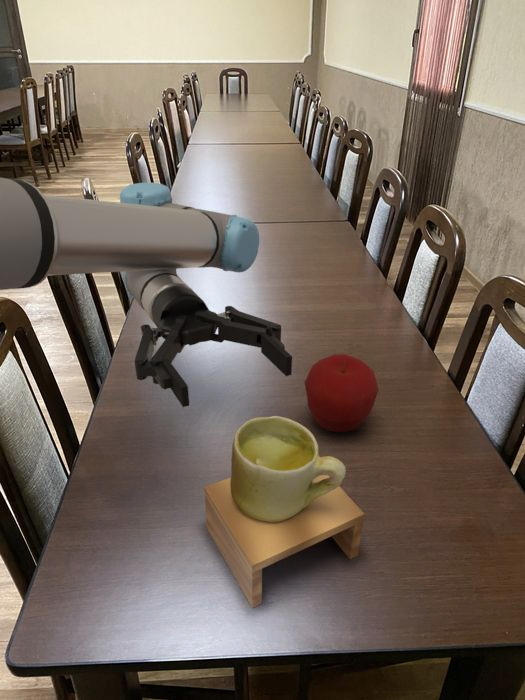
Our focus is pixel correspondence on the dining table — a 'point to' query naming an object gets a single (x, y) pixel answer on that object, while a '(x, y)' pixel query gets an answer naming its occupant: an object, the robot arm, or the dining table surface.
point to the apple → (340, 392)
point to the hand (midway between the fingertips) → (239, 381)
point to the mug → (279, 469)
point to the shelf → (277, 532)
